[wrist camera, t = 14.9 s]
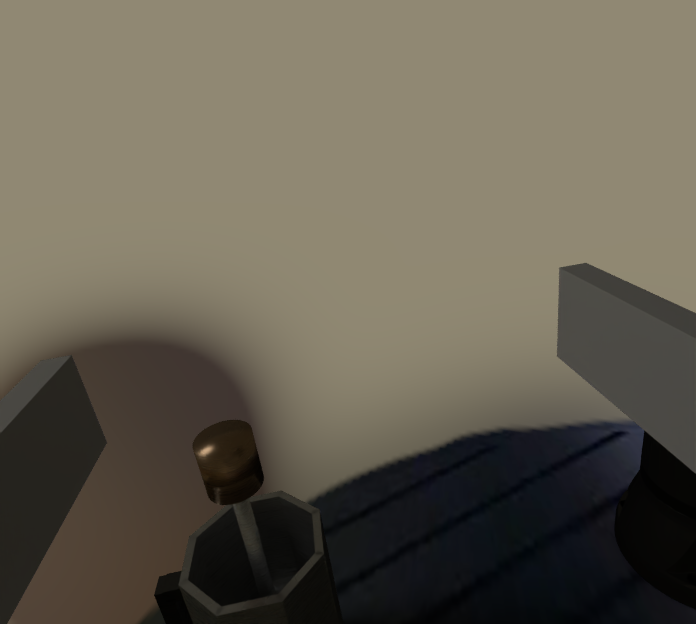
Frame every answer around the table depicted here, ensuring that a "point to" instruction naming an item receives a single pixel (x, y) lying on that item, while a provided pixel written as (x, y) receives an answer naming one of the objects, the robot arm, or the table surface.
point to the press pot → (237, 576)
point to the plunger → (235, 484)
